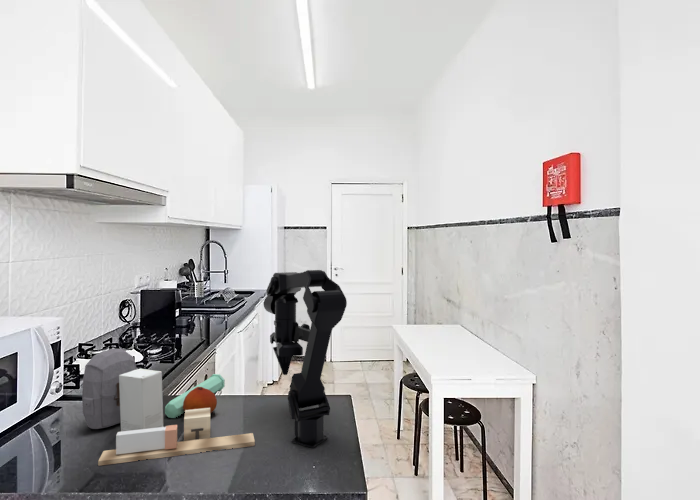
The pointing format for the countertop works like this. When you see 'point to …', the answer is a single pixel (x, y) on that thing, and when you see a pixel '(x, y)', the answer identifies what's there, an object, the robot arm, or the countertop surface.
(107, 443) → the countertop surface
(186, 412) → the wooden block
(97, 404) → the soft grey pack
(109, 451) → the plank
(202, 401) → the fruit
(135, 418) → the skincare box
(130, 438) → the white and pink block
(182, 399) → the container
